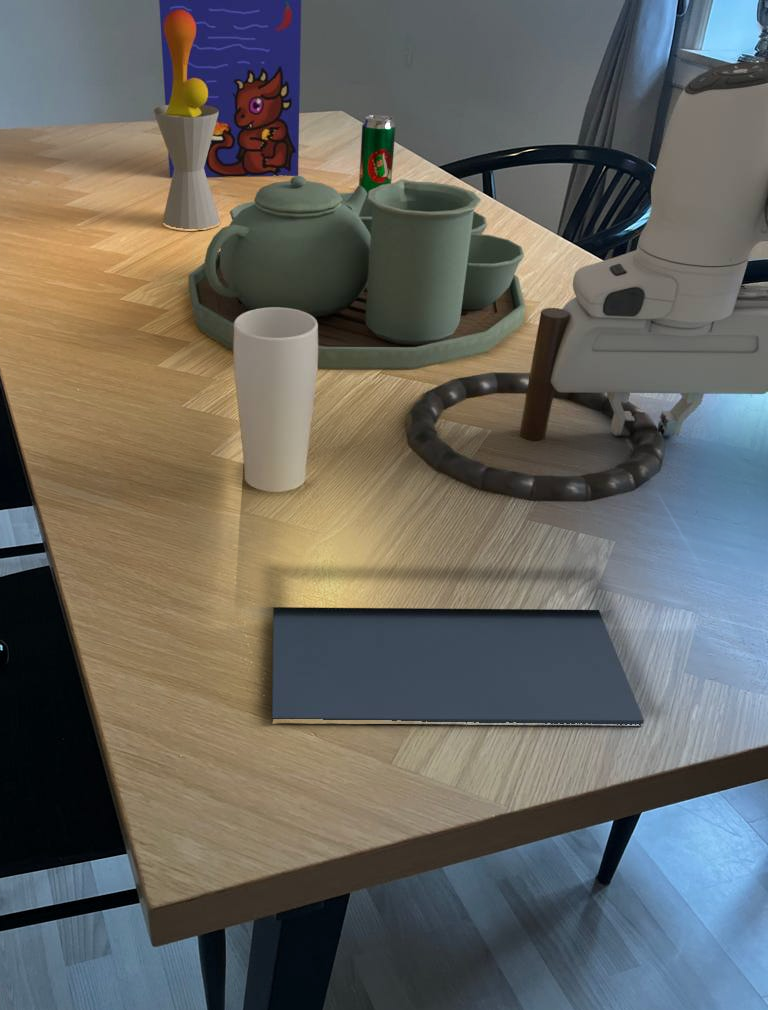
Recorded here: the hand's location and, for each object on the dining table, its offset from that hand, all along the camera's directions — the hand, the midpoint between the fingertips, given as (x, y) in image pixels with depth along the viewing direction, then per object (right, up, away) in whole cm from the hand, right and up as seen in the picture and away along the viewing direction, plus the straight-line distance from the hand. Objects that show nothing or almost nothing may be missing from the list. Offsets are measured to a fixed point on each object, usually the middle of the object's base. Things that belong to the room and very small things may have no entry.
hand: (643, 433), depth 91 cm
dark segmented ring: (-10, 0, 0) cm, 10 cm away
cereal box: (-43, +61, +77) cm, 107 cm away
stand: (-10, -1, +1) cm, 11 cm away
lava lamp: (-48, +43, +54) cm, 84 cm away
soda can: (-20, +50, +64) cm, 83 cm away
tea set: (-26, +20, +27) cm, 43 cm away
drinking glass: (-34, -6, -5) cm, 35 cm away
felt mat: (-22, -20, -22) cm, 37 cm away
